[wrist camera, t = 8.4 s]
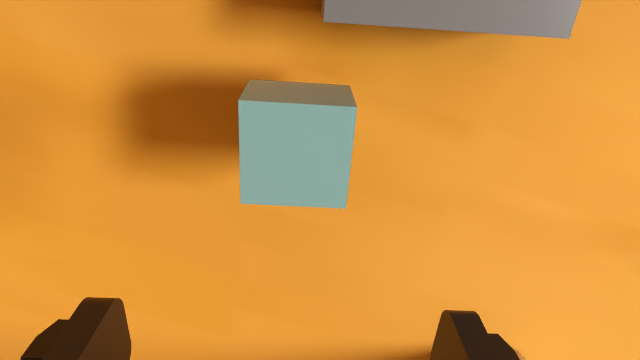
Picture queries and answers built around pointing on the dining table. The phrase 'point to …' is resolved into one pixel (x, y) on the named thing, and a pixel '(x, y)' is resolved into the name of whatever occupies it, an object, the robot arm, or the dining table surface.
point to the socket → (460, 15)
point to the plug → (295, 143)
